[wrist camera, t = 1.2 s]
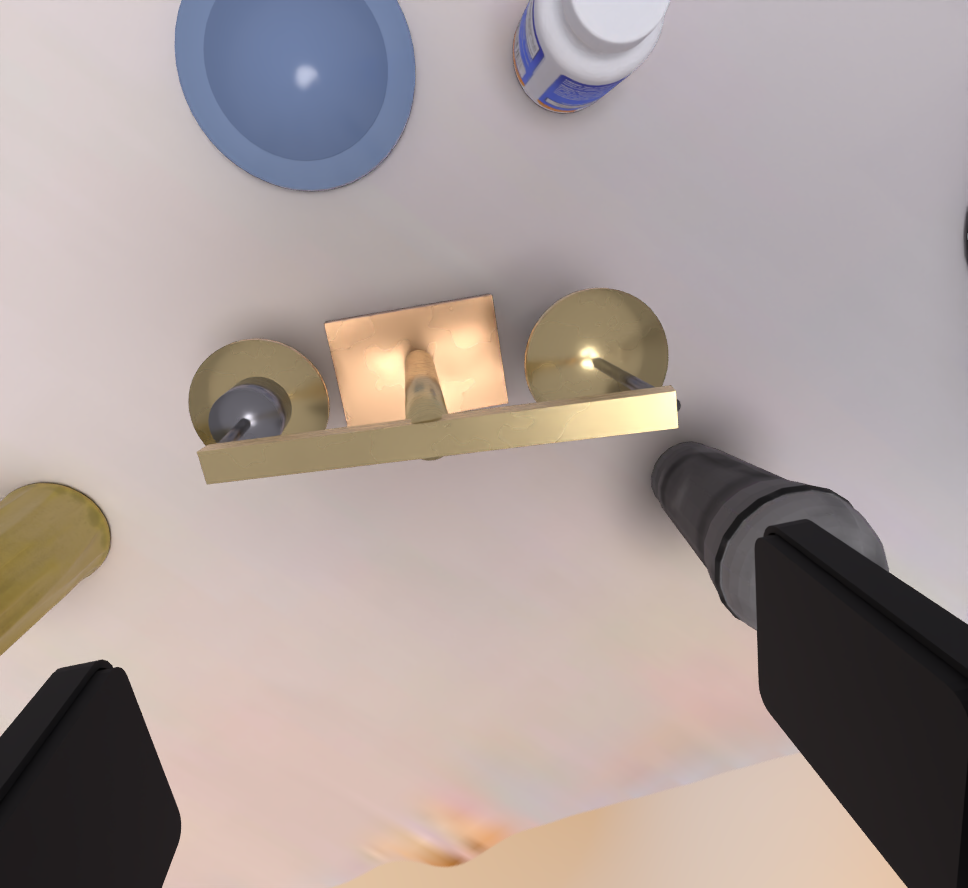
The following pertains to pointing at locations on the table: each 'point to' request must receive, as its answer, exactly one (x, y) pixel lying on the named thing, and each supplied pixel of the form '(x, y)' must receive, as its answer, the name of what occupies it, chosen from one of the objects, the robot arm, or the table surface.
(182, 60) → the dish
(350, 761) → the table surface
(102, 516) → the vase
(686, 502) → the beverage cup
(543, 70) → the pill bottle
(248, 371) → the balance
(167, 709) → the table surface
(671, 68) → the table surface
